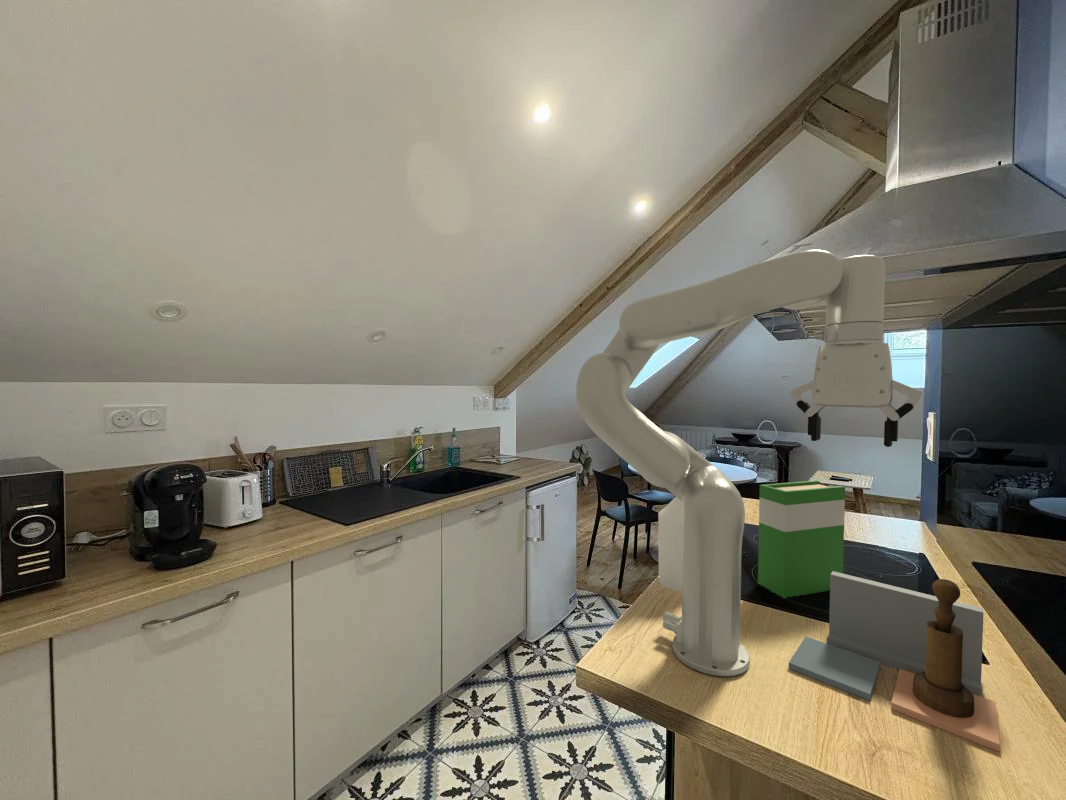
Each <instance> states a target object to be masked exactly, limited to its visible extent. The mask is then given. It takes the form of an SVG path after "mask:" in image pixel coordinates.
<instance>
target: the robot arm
mask: <svg viewBox="0 0 1066 800" xmlns="http://www.w3.org/2000/svg"><path fill="white" fill-rule="evenodd" d="M885 283H886V263H885V260H884V259H883V258H882V257H880V256H878V255H873V254H862V255H861V254H859V255H853V256H847V257H844V258H840V259H839V258H838V257H837V256H836V255H835V254H833V253H831V252H829V251H827V250H824V249H823V250H821V249H809V250H804V251H800V252H796V253H791V254H788V255H784V256H781V257H777V258H773V259H770V260H766V261H763V262H760V263H756V264H754V265H750V266H748V267H745V268H742V269H739V270H736V271H734V272H732V273H728V274H725V275H721V276H718V277H716V278H714V279H710V280H708V281H705V282H701V283H698V284H693V285H690V286H687V287H684V288H680V289H676V290H673V291H669V292H664V293H660V294H657V295H653V296H650V297H645V298H642V299H639V300H636V301H633V302H632V303H629V304H628V305H627V306H625V308H623V310H622V312H621V314H620V317H619V322H618V324H619V325H618V327H619V329H618V330H617V331H616V333H615V335H614V337H613V338H612V339H611V341H610V342H609V343H608V345H607V347H606V348H605V349H604V350H603V352H599V353H596V354H594V355H592V356H591V357H589V358H588V359H586V360H585V361H584V363H583V364H582V366H581V367H580V370H579V373H578V376H577V378H576V379H577V380H576V387H575V390H576V391H575V399H576V403H577V407H578V410H579V413H580V415H581V417H582V419H583V420H584V422H585V423H586V425H587V426H588V427H589V428H590V430H592V432H593V433H594V434H595V435H596V436H597V437H598V438H600V439H601V440H602V442H604V443H605V444H606V445H607V446H608V447H610V449H611V450H613V451H614V452H615V453H616V454H617V455H618V456H619V457H620V458H621V459H622V460H623V461H625V462H626V463H627V464H628V465H629V466H630V467H631V468H633V470H635V471H636V472H637V473H638V474H639V475H641V477H643V479H644V480H645V481H646V482H648V483H649V484H651V485H652V486H655V487H658V488H661V489H666V490H667V491H669V492H670V493H671V494H672V495H673V496H675V497H677V498H678V499H679V500H681V501H682V502H683V508H684V528H683V581H682V592H681V593H682V596H681V600H682V601H681V616H677V615H676V614H674V613H670V612H668V611H665V612H664V613H663V615H662V621H663V623H662V627H663V629H666V630H668V631H671V632H673V633H674V634H675V635H674V637H673V639H672V650H673V653H674V655H675V656H676V657H677V658H678V660H679V661H680V662H681V663H683V664H684V665H686V666H688V667H689V668H691V669H693V670H695V671H697V672H699V673H703V674H706V675H711V676H717V677H734V676H738V675H740V674H743V673H745V672H746V671H747V670H748V669H749V667H750V662H751V661H750V660H751V657H750V653H749V652H748V650H747V649H746V648H747V647H745V646H744V645H743V644H742V643H741V602H742V601H741V600H742V599H741V597H742V594H741V591H742V588H741V587H742V548H743V537H744V531H745V530H744V529H745V520H746V513H745V512H746V511H745V510H746V509H745V505H744V501H743V497H742V496H741V493H740V491H739V490H738V489H737V487H736V486H735V485H734V483H733V482H732V481H731V480H730V479H729V477H727V475H725V473H723V472H722V471H721V470H720V469H718V467H716V466H715V465H714V464H713V463H711V462H710V461H709V460H708V459H706V458H705V457H704V456H703V455H702V454H701V453H700V452H698V451H697V450H695V449H694V448H693V447H692V446H691V445H689V443H687V442H686V441H684V439H682V438H681V437H679V436H678V435H676V434H675V433H673V432H670V431H666V430H665V431H664V430H663V429H661V428H660V427H659V426H658V425H656V423H654V422H653V421H651V419H649V418H648V417H647V416H646V415H645V414H644V413H642V412H641V411H640V410H639V409H637V407H635V406H634V405H632V403H631V402H630V401H629V399H628V398H627V397H626V394H625V393H626V392H627V390H628V389H630V387H631V386H632V385H633V382H634V381H635V380H636V378H637V377H638V376H639V374H640V373H641V371H642V370H643V369H644V367H645V366H647V365H646V364H647V363H648V362H649V361H650V359H651V358H652V356H653V355H654V353H655V352H656V350H657V349H658V348H659V345H660V344H664V343H668V342H673V341H677V340H682V339H685V338H689V337H694V336H699V335H702V334H707V333H712V332H715V331H718V330H721V329H725V328H728V327H730V326H732V325H734V324H736V323H738V322H740V321H743V320H744V319H747V318H750V317H752V316H756V315H758V314H761V313H765V312H769V311H772V310H775V309H780V308H784V309H786V310H792V311H794V310H795V311H796V310H797V311H798V310H804V309H810V308H811V309H812V308H816V307H817V308H818V307H824V306H826V307H825V326H824V329H823V330H820V331H815V334H814V337H815V338H814V339H815V340H816V341H819V340H820V341H823V343H825V344H824V345H819V347H818V350H817V354H816V359H815V364H814V372H813V380H812V381H810V382H807V383H806V384H803V385H800V386H798V387H796V388H794V389H792V390H791V391H790V395H791V397H792V398H793V400H794V402H795V404H796V406H797V407H798V409H799V410H801V411H802V412H803V413H804V415H805V416H806V417H807V435H808V436H810V441H811V442H817V441H819V440H821V436H822V435H821V430H822V428H821V427H822V426H821V424H822V417H821V416H820V412H821V411H823V410H824V408H826V407H835V408H836V407H837V408H838V407H839V408H840V407H841V408H865V409H866V408H868V409H870V408H879V410H880V411H881V412H882V413H883V414H884V415H885V416H886V420H884V429H883V434H884V435H883V446H884V447H886V448H890V447H892V446H893V442H898V440H899V439H898V437H899V436H898V435H899V420H900V419H903V417H904V416H906V415H907V414H908V413H910V412H911V411H913V410H914V409H915V407H916V406H917V404H918V403H919V402H920V400H921V399H922V398H923V397H924V393H923V391H921V390H918V389H916V388H914V387H911V386H909V385H907V384H903V383H901V382H899V381H897V380H894V379H893V368H892V365H893V364H892V357H891V351H890V347H889V343H887V342H884V316H885V315H884V314H885V313H884V311H885V286H886V284H885ZM893 390H894V391H896V392H898V393H901V394H904V395H906V396H907V399H906V401H905V402H904V404H903V405H901V406H900V407H898V408H897V409H896V408H895V407H894V406H893V405H892V401H893V392H894V391H893ZM808 392H812V394H811V395H812V402H813V403H812V405H810V404H809V402H807V401H806V400H805V398H804V394H807V393H808Z"/></svg>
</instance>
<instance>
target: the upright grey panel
mask: <svg viewBox="0 0 1066 800" xmlns="http://www.w3.org/2000/svg"><path fill="white" fill-rule="evenodd" d="M938 605H939V601H938V599H937V597H936V596H935V595H932V594H927V593H923V592H919V591H915V590H911V589H906V588H903V587H899V586H896V585H895V586H894V585H891V584H886V583H882V582H878V581H875V580H871V579H868V578H867V579H866V578H863V577H858V576H854V575H850V574H846V573H844V572H843V573H839V572H834V571H832V573H831V574H830V590H829V618H828V619H829V621H828V628H829V629H828V634H827V635H826V643H827V644H829V645H832V646H835V647H838V648H841V649H844V650H847V651H850V652H853V653H856V654H859V655H861V656H864V657H867V658H870V659H873V660H876V661H879V662H880V665H884V666H887V667H888V668H889V667H890V668H893V669H895V670H898V671H899V669H902V670H905V671H908V672H911V673H914V674H917V673H921V672H924V671H925V670H926V644H927V622H928V621H937V618H936V615H935V608H936V607H938ZM952 611H953V612H955V614H956V616H955V619H954V622H953V624H952V625H954V626H957V627H958V628H960V629H961V630H962V631H963V646H962V684H963V685H964V686H965V687H966V688H967V689H968V690H969V691H970V692H971V693H972V694H975V695H978V696H981V697H982V672H983V671H982V667H983V641H984V640H983V639H984V607H982V606H981V607H980V606H977V605H973V604H969V603H964V602H960V601H958V600H957V601H956V602H955V603H954V604H953V605H952Z"/></svg>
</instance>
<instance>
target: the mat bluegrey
mask: <svg viewBox="0 0 1066 800" xmlns="http://www.w3.org/2000/svg"><path fill="white" fill-rule="evenodd" d="M788 669H790V670H791V671H795V672H797V673H799V672H800V674H802V673H803V674H802V675H805V676H807V675H808V676H807V677H809V676H810V678H811V679H815V680H816V681H817V680H818V681H819V682H822V683H823V684H828V685H830V686H833V687H834V688H838V689H840V690H843V691H844V692H847V693H849V694H852V695H855V696H858V697H860V698H862V699H865V700H867V701H871V699H872V695H873V693H874V689H875V686H876V683H877V680H878V676H879V673H880V670H881V664H880V662H879V661H876V660H873V659H870V658H867V657H864V656H861V655H859V654H856V653H853V652H850V651H847V650H844V649H841V648H838V647H835V646H832V645H829V644H827V642H824V641H820V640H818V639H815V638H812V637H809V636H805V637H804V638H803V640H802V642H801V643H800V644H799V646H798V647H797V649H796V651H795V652H794V654H793V655H792V657H791V659H790V660H789V661H788Z"/></svg>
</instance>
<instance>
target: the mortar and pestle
mask: <svg viewBox="0 0 1066 800" xmlns="http://www.w3.org/2000/svg"><path fill="white" fill-rule="evenodd" d="M931 589H932V592H933V594H934V596H936V597H937V599H938V601H939V605H938V607H936V608H935V615H936V618H937V621H928V622H927V644H926V670H925V671H924V672H921V673H917V674H915V675H914V678H913V693H914V695H915V696H916V698H917V699H919V700H920V701H921V702H922V703H924V704H925V705H927V706H929V707H930V708H932V709H934V710H936V711H939V712H941V713H944V714H947V715H950V716H955V717H961V718H967V717H971V716H973V714H974V696H973V694H972V693H971V692H970V691H969V690H968V689H967V688H966V687H965V686H964V685H963V684H962V646H963V631H962V630H961V629H960V628H958V627H957V626H954V625H952V624H953V622H954V619H955V616H956V614H955V612H953V611H952V605H953V604H954V603H955V602H956V601H957V602H958V599H959V598H960V596H961V590H960V587H959V586H958V584H957V583H955V582H954V581H952V580H950V579H944V578H940V579H939V578H938V579H937V580H935V581H933V583H932V586H931Z"/></svg>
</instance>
